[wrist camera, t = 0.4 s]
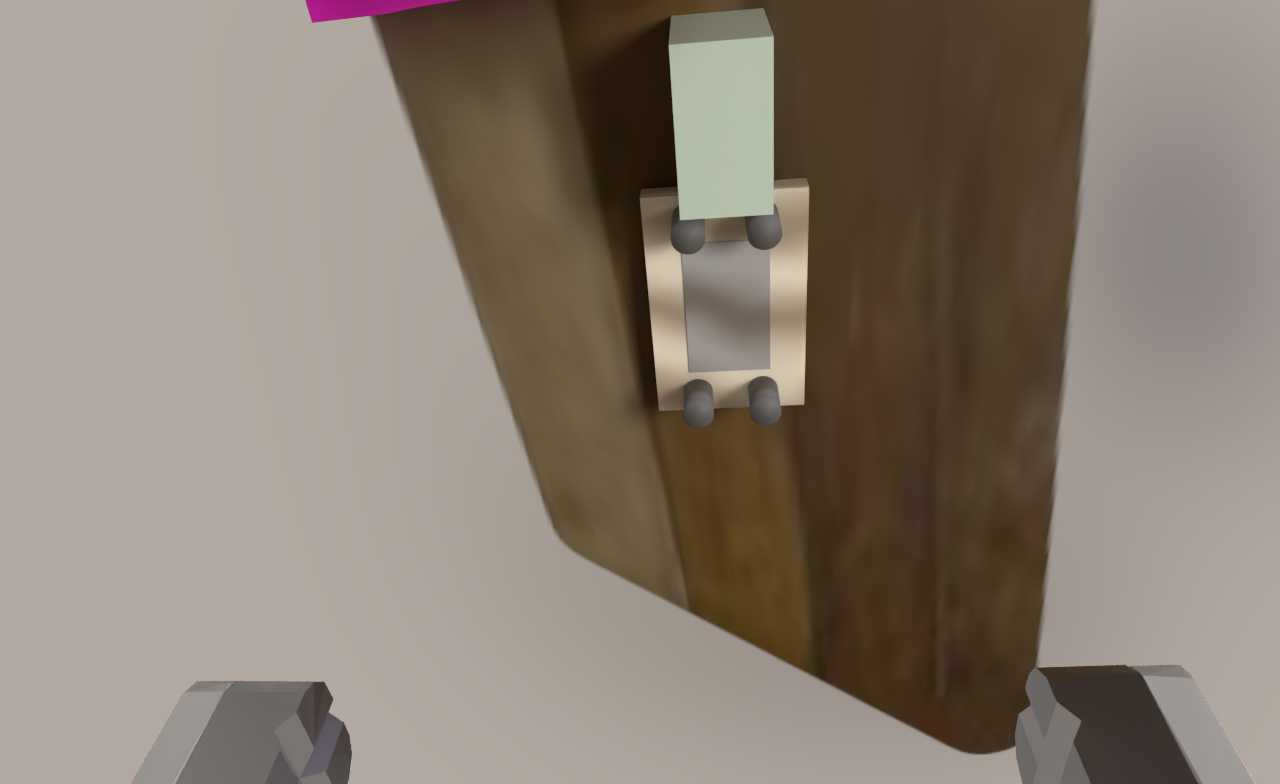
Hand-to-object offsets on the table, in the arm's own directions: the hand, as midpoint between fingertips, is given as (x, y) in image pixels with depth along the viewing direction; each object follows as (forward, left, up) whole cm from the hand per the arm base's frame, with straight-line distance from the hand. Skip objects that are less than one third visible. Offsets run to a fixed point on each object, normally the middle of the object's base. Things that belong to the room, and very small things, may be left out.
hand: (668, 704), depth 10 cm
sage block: (+5, +2, -44) cm, 45 cm away
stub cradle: (+18, +2, -44) cm, 48 cm away
